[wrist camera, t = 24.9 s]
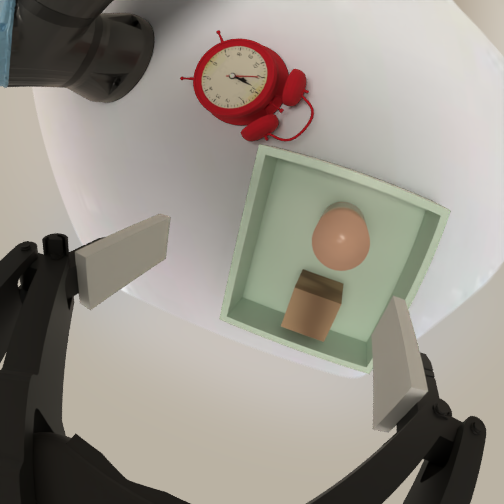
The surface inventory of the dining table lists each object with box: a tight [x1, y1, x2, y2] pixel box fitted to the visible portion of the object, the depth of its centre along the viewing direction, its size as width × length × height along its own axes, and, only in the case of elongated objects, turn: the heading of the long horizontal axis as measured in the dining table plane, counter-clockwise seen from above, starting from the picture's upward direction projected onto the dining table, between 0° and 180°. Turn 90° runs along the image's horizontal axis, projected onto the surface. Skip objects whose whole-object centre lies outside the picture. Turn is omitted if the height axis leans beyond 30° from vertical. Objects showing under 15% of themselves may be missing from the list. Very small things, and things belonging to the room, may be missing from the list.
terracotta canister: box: [312, 202, 370, 271], centre depth 26 cm, size 5×5×7 cm
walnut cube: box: [281, 269, 343, 342], centre depth 30 cm, size 5×5×5 cm
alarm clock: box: [180, 30, 314, 141], centre depth 26 cm, size 10×6×15 cm
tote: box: [219, 144, 451, 374], centre depth 29 cm, size 19×20×6 cm
